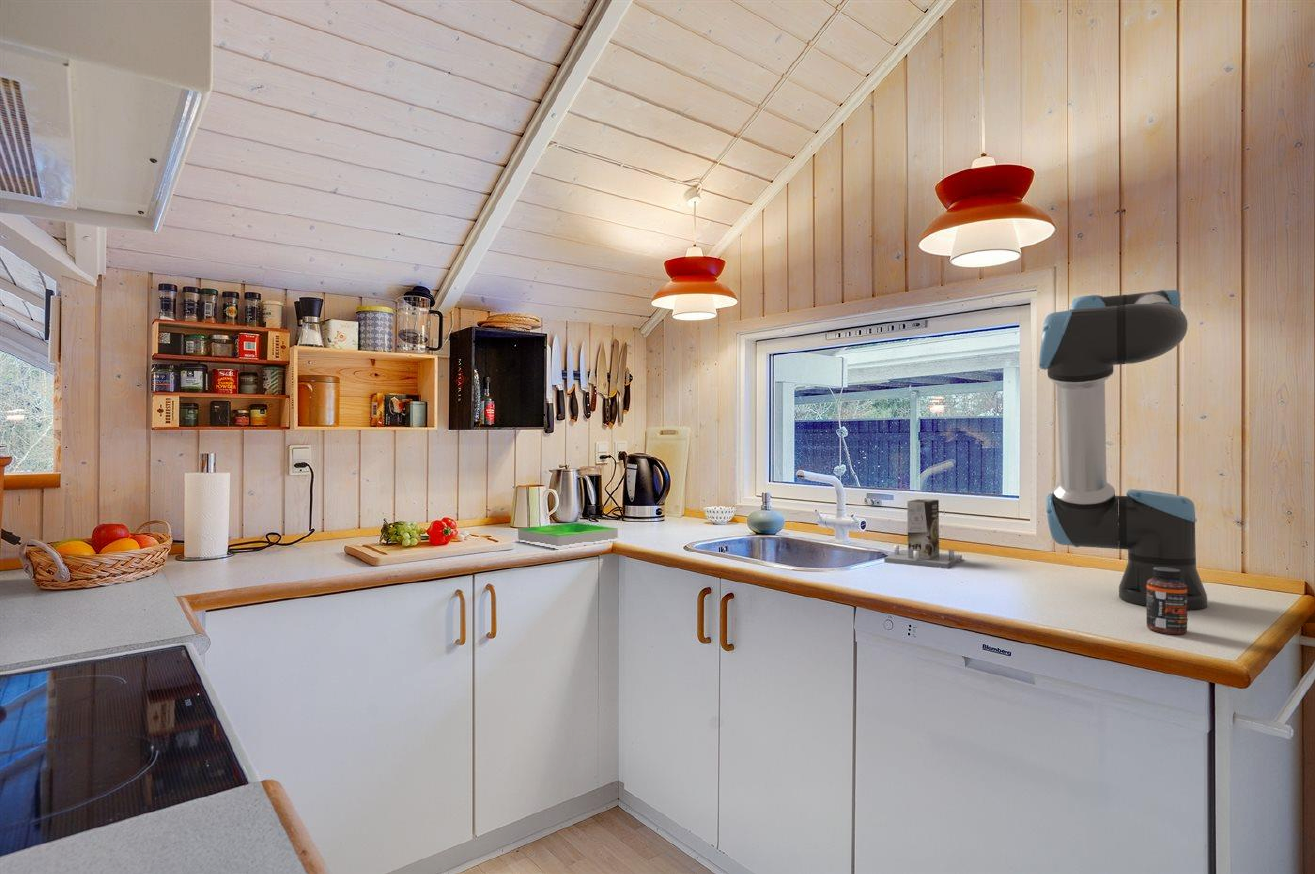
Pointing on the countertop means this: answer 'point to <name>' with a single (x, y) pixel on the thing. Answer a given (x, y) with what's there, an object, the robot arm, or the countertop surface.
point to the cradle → (937, 561)
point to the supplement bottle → (1167, 602)
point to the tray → (567, 533)
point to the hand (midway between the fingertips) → (1090, 437)
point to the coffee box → (923, 528)
